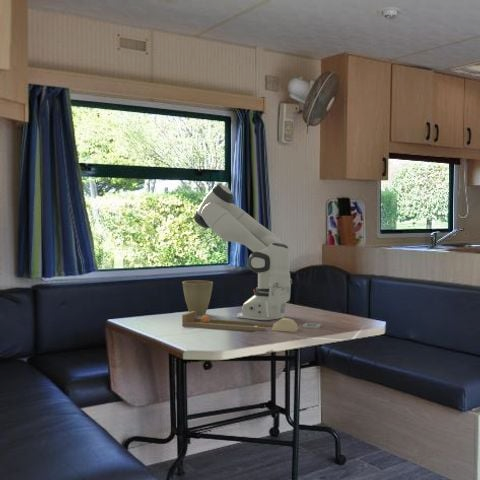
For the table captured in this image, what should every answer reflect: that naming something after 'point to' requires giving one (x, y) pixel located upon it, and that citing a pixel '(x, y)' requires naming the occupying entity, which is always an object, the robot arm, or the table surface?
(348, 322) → the table surface
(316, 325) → the coaster
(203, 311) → the plant pot
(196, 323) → the lane
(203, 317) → the ball
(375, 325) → the table surface
